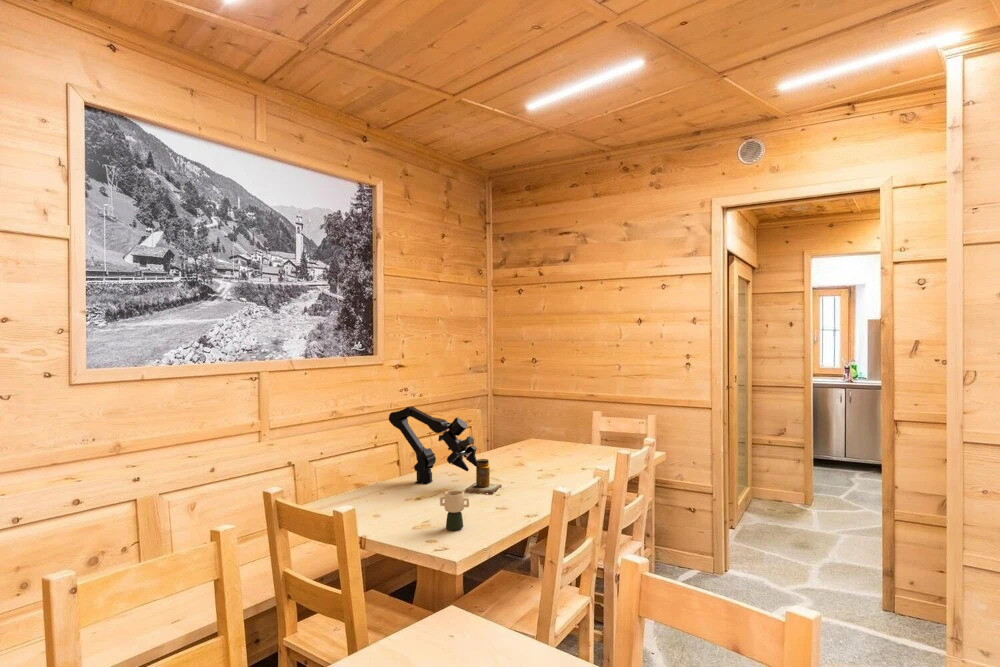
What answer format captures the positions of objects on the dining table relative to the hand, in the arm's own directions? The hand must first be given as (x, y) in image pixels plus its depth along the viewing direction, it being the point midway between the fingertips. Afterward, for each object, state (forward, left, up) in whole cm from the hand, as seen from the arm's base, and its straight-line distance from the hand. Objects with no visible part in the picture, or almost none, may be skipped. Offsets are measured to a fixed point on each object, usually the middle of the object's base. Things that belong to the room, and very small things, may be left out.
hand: (473, 468), depth 262 cm
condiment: (+5, -2, -8) cm, 9 cm away
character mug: (+13, -55, -9) cm, 57 cm away
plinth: (+5, -1, -9) cm, 10 cm away
